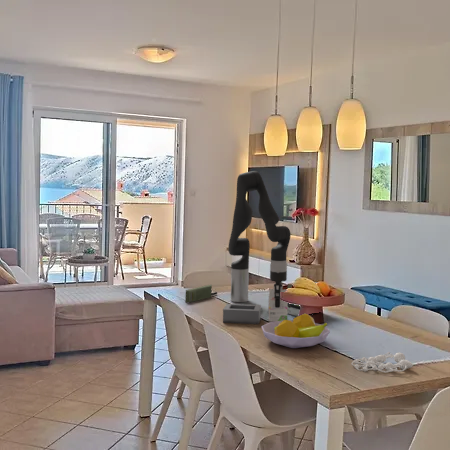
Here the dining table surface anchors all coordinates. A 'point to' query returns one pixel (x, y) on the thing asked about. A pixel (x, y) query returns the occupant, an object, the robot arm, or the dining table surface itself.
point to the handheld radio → (199, 293)
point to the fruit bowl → (296, 332)
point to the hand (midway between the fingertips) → (277, 305)
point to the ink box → (274, 312)
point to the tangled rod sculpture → (380, 359)
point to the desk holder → (242, 313)
